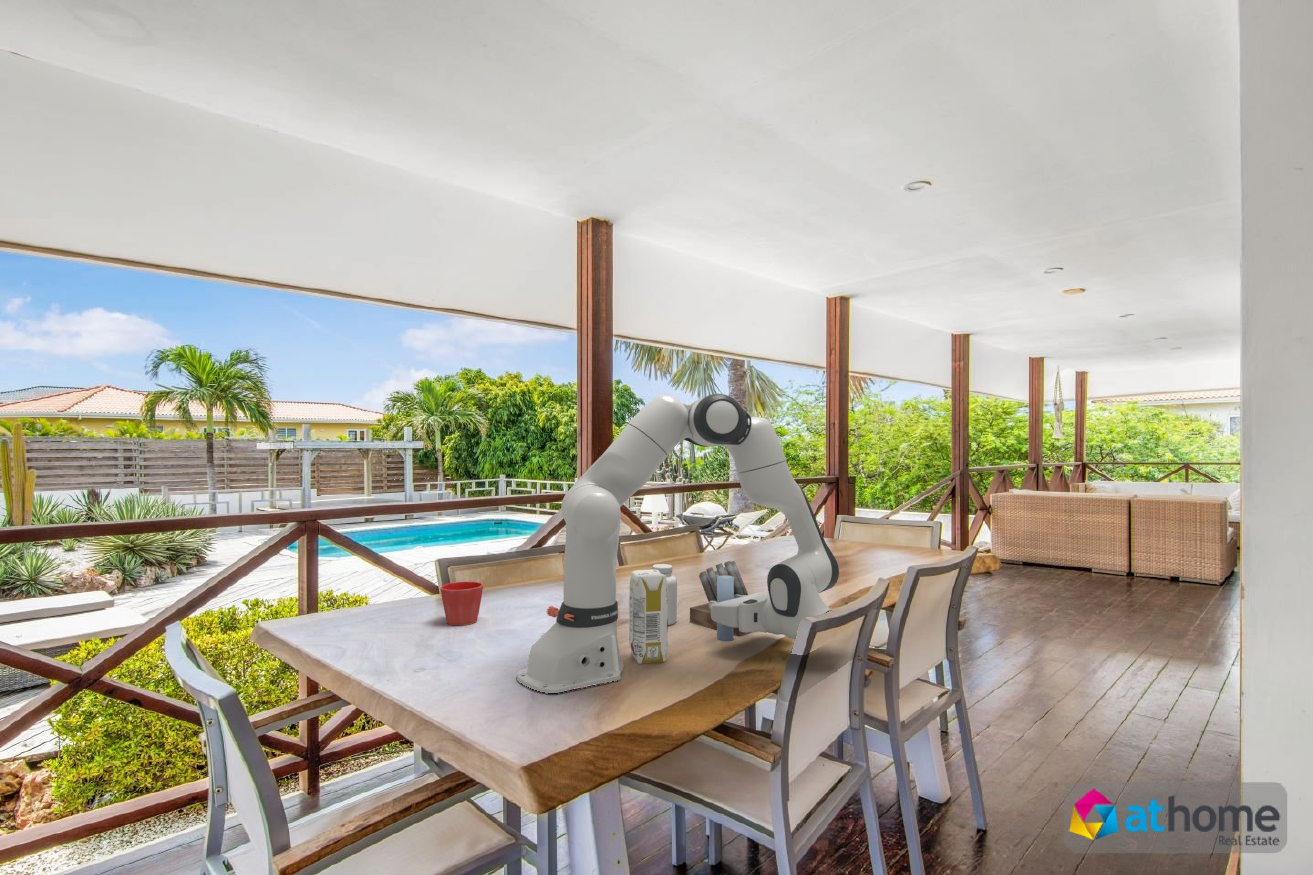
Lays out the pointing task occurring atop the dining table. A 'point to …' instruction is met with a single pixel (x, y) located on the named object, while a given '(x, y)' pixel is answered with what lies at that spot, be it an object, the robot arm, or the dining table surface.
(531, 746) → the dining table surface
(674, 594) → the pill bottle
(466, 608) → the flower pot
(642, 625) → the juice carton
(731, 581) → the peg
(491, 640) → the dining table surface
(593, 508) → the robot arm
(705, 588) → the slanted rod rack
